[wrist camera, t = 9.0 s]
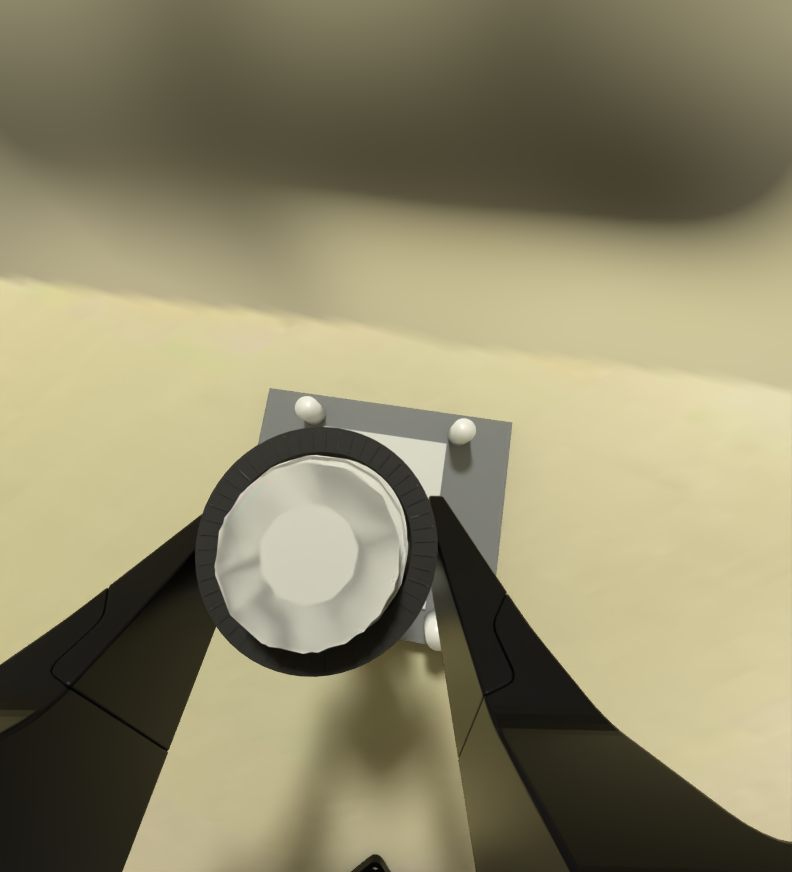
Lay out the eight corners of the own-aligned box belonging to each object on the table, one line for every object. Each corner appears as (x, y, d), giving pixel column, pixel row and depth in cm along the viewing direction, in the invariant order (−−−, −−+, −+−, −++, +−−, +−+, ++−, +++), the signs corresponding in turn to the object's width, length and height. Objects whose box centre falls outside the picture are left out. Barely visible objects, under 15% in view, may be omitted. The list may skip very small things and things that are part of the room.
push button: (446, 547, 16) (545, 635, 7) (357, 621, 16) (317, 843, 6) (363, 438, 17) (338, 368, 7) (274, 504, 16) (111, 528, 6)
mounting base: (483, 645, 21) (497, 673, 18) (233, 603, 22) (204, 623, 19) (506, 425, 23) (522, 416, 20) (276, 392, 24) (256, 379, 21)
